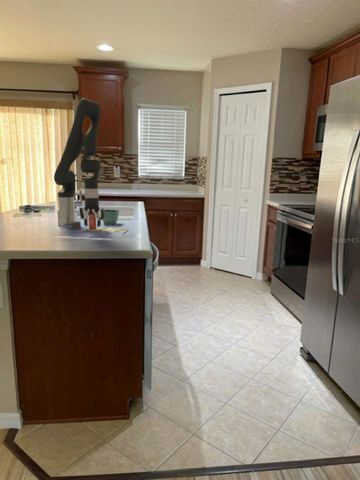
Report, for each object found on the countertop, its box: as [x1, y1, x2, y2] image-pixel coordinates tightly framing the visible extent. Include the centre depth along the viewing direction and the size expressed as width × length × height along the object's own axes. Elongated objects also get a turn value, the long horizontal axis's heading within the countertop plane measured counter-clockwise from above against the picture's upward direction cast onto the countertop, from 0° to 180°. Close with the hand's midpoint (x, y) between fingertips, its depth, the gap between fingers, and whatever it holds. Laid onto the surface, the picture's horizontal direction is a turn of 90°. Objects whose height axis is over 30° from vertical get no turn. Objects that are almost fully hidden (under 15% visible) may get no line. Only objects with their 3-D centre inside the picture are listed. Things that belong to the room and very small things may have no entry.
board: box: [86, 227, 129, 235], centre depth 198 cm, size 22×10×1 cm, turn 84°
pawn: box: [88, 214, 97, 231], centre depth 197 cm, size 4×4×9 cm
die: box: [70, 220, 82, 230], centre depth 199 cm, size 5×5×5 cm
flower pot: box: [101, 209, 120, 225], centre depth 216 cm, size 9×9×9 cm
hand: (92, 226), depth 198 cm, fingers open, 6 cm apart
